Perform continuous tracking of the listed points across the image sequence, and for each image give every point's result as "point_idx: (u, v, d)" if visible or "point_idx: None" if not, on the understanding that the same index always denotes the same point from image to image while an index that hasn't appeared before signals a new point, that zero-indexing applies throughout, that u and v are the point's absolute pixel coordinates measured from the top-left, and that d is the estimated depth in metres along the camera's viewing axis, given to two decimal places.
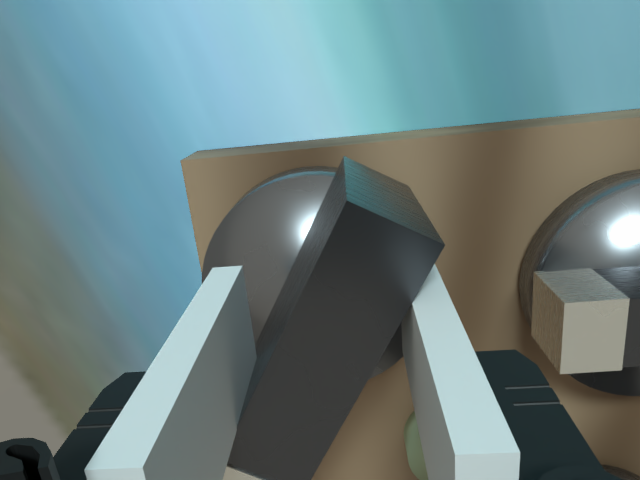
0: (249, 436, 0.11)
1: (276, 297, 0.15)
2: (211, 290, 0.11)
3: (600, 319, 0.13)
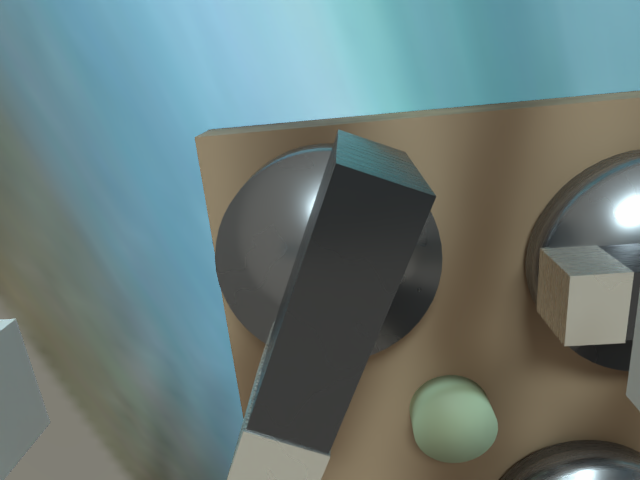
0: (270, 402, 0.11)
1: (289, 275, 0.15)
2: None
3: (605, 292, 0.13)
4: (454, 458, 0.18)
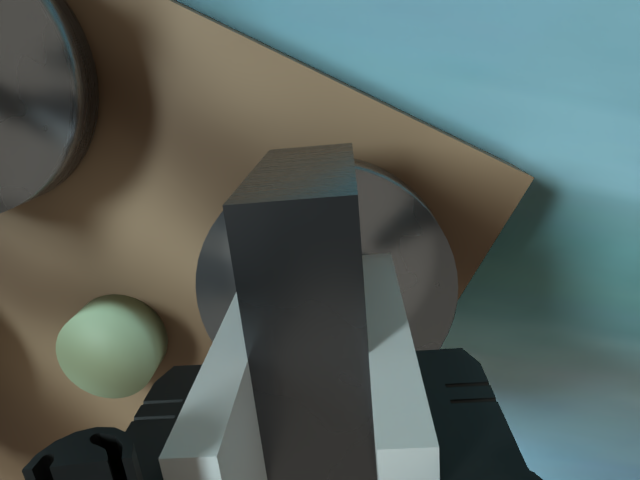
0: None
1: None
2: None
3: None
4: (146, 373, 0.15)
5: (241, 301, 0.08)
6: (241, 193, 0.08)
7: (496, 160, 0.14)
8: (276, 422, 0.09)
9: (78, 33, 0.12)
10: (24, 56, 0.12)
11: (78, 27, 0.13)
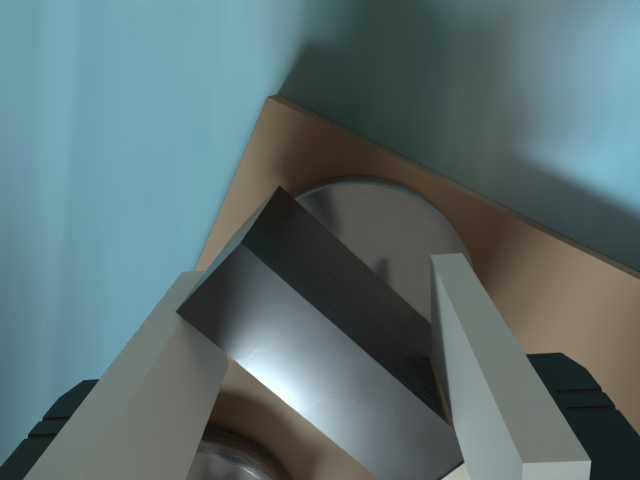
0: None
1: None
2: (177, 296, 0.11)
3: None
4: None
5: (239, 360, 0.10)
6: (190, 292, 0.10)
7: (253, 132, 0.15)
8: (332, 422, 0.10)
9: None
10: None
11: None
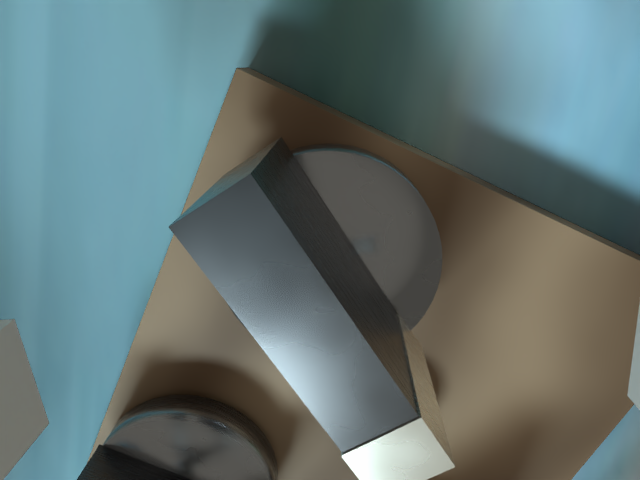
0: None
1: None
2: None
3: None
4: None
5: (218, 287, 0.10)
6: (184, 213, 0.10)
7: (224, 104, 0.16)
8: (293, 365, 0.11)
9: (154, 403, 0.19)
10: (160, 442, 0.18)
11: (151, 401, 0.19)
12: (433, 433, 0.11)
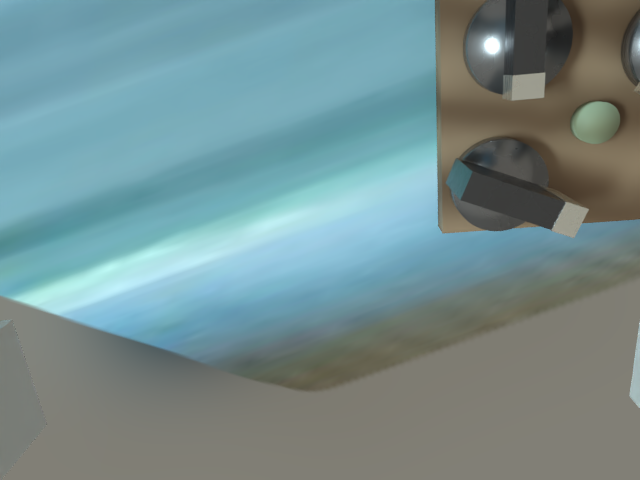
0: (541, 221, 0.33)
1: None
2: None
3: (520, 85, 0.33)
4: (617, 122, 0.36)
5: None
6: None
7: None
8: None
9: None
10: (552, 14, 0.33)
11: None
12: None
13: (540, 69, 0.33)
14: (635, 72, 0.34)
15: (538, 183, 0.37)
